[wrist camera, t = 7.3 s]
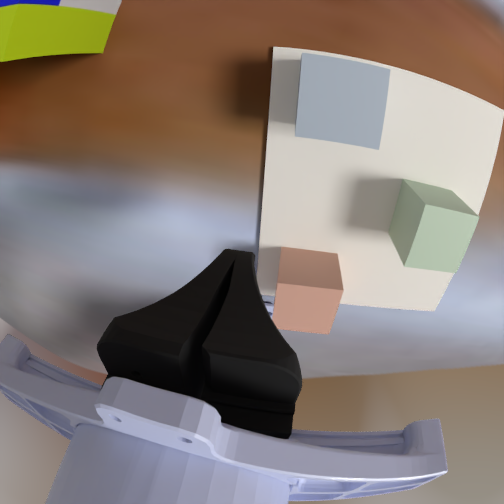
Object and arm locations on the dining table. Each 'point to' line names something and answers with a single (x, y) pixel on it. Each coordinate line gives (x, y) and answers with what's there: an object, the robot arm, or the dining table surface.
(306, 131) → the slate block
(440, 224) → the sage block
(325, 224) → the mat
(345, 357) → the dining table surface
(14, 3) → the puzzle toy
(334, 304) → the terracotta block
